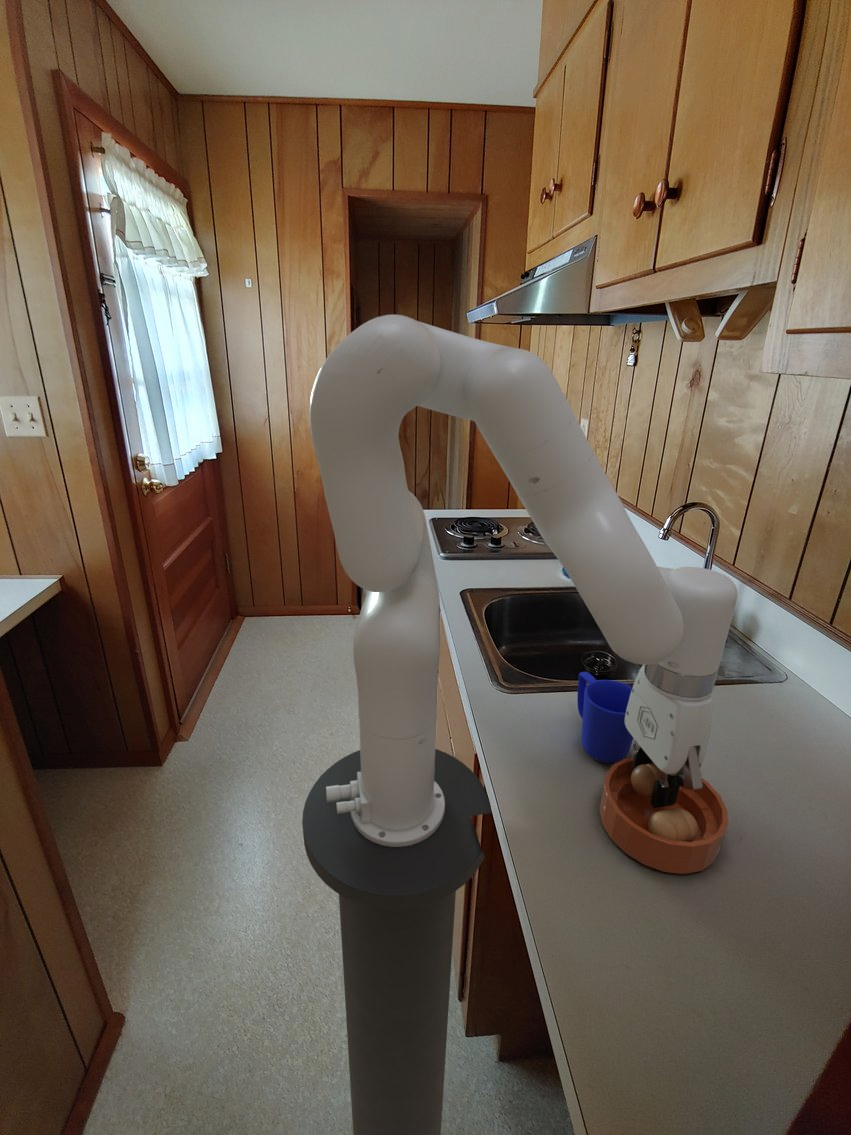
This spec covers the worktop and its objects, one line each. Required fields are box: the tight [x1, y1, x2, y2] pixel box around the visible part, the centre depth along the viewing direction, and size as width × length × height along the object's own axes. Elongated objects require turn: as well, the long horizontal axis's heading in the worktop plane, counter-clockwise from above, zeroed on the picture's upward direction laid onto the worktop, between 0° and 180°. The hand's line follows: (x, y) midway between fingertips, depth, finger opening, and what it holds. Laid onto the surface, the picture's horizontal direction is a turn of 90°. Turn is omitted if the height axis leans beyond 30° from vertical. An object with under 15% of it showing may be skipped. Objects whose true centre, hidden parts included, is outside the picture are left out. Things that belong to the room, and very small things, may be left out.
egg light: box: [648, 808, 698, 842], centre depth 67 cm, size 6×4×4 cm, turn 102°
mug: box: [576, 671, 634, 764], centre depth 83 cm, size 8×12×10 cm
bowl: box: [598, 756, 729, 875], centre depth 69 cm, size 14×14×5 cm
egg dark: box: [631, 763, 676, 797], centre depth 71 cm, size 6×4×4 cm, turn 102°
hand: (652, 789), depth 71 cm, fingers closed on egg dark, 4 cm apart
